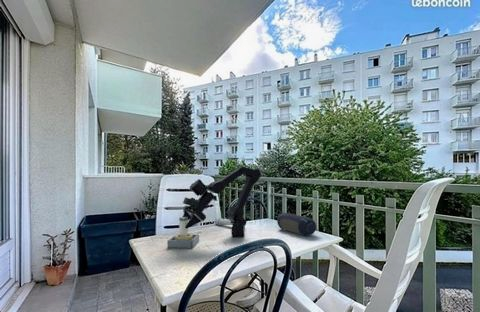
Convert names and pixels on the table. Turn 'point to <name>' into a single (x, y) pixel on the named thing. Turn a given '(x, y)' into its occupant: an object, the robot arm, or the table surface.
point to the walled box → (183, 241)
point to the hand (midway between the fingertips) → (182, 226)
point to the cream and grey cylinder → (183, 226)
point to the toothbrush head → (224, 222)
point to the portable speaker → (296, 224)
